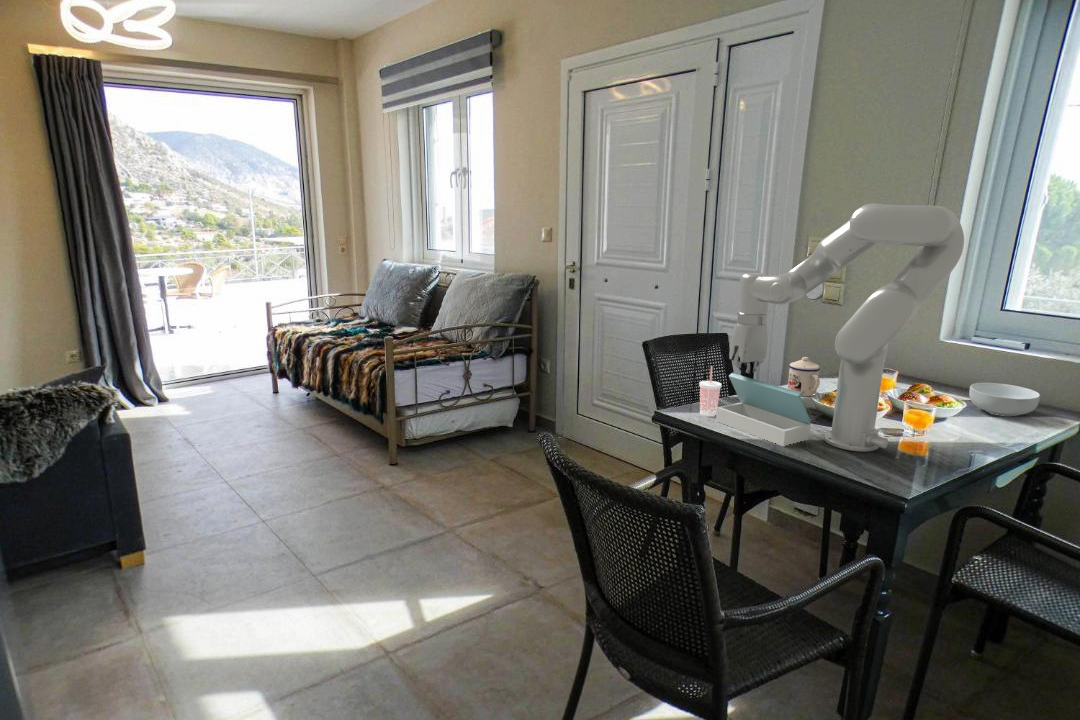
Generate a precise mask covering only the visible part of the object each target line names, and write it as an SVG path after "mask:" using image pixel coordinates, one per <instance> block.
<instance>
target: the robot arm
mask: <svg viewBox="0 0 1080 720" xmlns="http://www.w3.org/2000/svg"><path fill="white" fill-rule="evenodd" d="M879 244H884V245H898V246H915V247H917V246H918V248H917V251H916V252H915V253H914V254H913V255H912V256H911V257H910V258H909V260H907V262H906V263H905V264H904V265H903V267H902V268H901V269H900V270H899V272H898V273H896V274H895V276H894V277H893V278H892V279H891V280H890V281H889V282H888V283H887V284H885V285H883V286H881V287H879V288H878V289H876V290H874V292H873V293H872V294H871V295H870V296H868V298H866V299H865V301H864V302H862V304H861V305H860V307H859V308H858V309H857V310H856V311H855V312H854V314H853V315H852V316H851V317H850V318H849V319H848V320H847V321H846V323H845V324H844V325H843V326H842V327H841V328H840V330H839V331H838V333H837V334H836V336H835V340H834V349H835V353H836V354H837V356H838V357H839V358H840V365H839V370H838V378H837V385H836V391H835V392H836V393H835V401H834V408H833V409H834V411H833V417H832V424H831V430H829V431H827V432H825V433H824V435H823V441H825V442H826V443H827V444H829V445H831V446H833V447H834V448H839V449H843V450H847V451H852V452H873V451H876V450H878V449H880V448H882V449H886V448H887V447H888V442H889V439H888V438H887V437H884V436H880V435H879V430H880V429H877V428H875V427H876V421H877V415H878V408H879V407H878V406H879V401H880V393H881V386H882V380H883V373H884V367H885V363H886V362H885V361H886V358H887V354H888V348H889V342H890V341H891V340H892V339H893V338H894V337H895V336H896V335H897V334H898V333H899V332H900V331H901V329H902V328H903V327H904V326H905V325H906V324H907V323H908V322H909V321H910V320H912V319H913V318H914V317H915V316H916V315H917V313H918V311H919V309H921V307H922V306H923V305H924V303H926V301H927V300H928V299H930V297H931V296H932V295H933V294H934V292H935V291H936V290H937V289H938V288H939V287H940V286H941V284H942V283H944V281H945V280H946V279H947V278H948V276H949V275H950V274H951V273H952V272H953V271H954V269H955V268H956V266H957V264H958V263H959V261H960V259H961V257H962V254H963V251H964V245H965V235H964V230H963V226H962V224H961V222H960V220H959V218H958V216H957V215H956V213H954V212H953V211H952V210H951V209H950V208H947V207H945V206H942V205H918V204H916V205H911V204H910V205H908V204H905V205H904V204H883V203H866V204H863V205H862V206H860V207H857V209H856V210H855V211H854V212H853V213H852V215H851V217H850V218H849V220H847V222H845V223H843V224H842V225H841V226H840V227H838V228H837V229H835V230H833V232H831V233H830V234H828V235H827V236H826V237H824V238H823V239H822V240H821V241H820V242H819V243H818V244H817V246H816V248H815V249H814V251H813V253H811V254H810V255H809V256H808V257H807V258H806V259H804V260H803V261H801V263H799V264H797V266H795V267H793V268H792V269H791V270H789V271H788V272H786V273H781V274H777V275H769V274H768V273H763V272H745V273H742V275H741V276H740V281H739V282H740V283H739V290H738V291H739V293H738V305H737V320H736V323H735V324H734V327H733V331H732V335H731V339H730V344H729V346H730V347H729V354H728V356H729V360H730V361H733V363H732V367H735V368H738V370H739V372H740V375H741V376H744V377H748V378H751V379H755V378H754V377H755V373H756V372H757V368H758V366H759V365H761V364H762V363H764V359H766V357H767V353H768V326H767V321H768V312H769V310H768V309H769V303H770V304H774V305H786V304H789V303H791V302H792V303H793V302H795V301H798V300H800V299H801V298H803V297H804V296H806V295H807V294H809V293H810V292H812V291H813V290H815V289H816V288H817V287H819V286H820V285H822V284H824V282H826V281H827V280H828V279H830V278H831V277H833V276H834V275H836V274H838V273H839V272H840V271H842V270H843V269H844V268H846V267H847V266H849V265H850V264H851V263H853V262H855V261H856V260H857V259H858V258H860V257H862V255H865V254H866V253H867V252H869V251H870V250H871V249H873V248H875V247H876V246H878V245H879Z"/></svg>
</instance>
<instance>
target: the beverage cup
mask: <svg viewBox="0 0 1080 720" xmlns="http://www.w3.org/2000/svg"><path fill="white" fill-rule="evenodd" d="M722 386H723V385H722V383H721V382H720V381H719V382H718V381H715V380H713V365H710V371H709V380H701V381H699V388H700V389H699V414H700V416H704V417H716V416H715V415H717V407H719V406H718V405H719V400H720V393H721V388H722Z"/></svg>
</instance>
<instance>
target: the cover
mask: <svg viewBox="0 0 1080 720" xmlns="http://www.w3.org/2000/svg"><path fill="white" fill-rule="evenodd" d="M728 378H729V380H730V383H731V384H732V386H733V388H734V390H735V393H736V395H737V397H738V399H739V401H740V402H742V403H745V404H748V405H751V406H754V407H757V408H760V409H763V410H766V411H769V412H773V413H776V414H779V415H782V416H785V417H788V418H791V419H794V420H797V421H800V422H803V423H806V424H809V425H810V424H812V422H811V419H810V417H809V416H810V415H809V414H808V411H807V409H806V406H805V404H804V402H803V401H804V400H803V398H802V397H803V396H802V393H801V392H797V391H794V390H790V389H787V388H788V387H787V388H786V387H782V386H780V385H779V386H778V385H776V384H773V383H769V382H764V381H761V380H757V379H755V378H754V379H751V378H748V377H744V376H741V374H736V373H734V372H731V373H730V374H729V375H728ZM740 402H739V403H740Z"/></svg>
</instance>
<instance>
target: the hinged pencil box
mask: <svg viewBox="0 0 1080 720" xmlns="http://www.w3.org/2000/svg"><path fill="white" fill-rule="evenodd" d="M715 417H716V419H715V422H716V421H717V423H719V422H720V423H719V424H722V425H724V424H725V426H727V425H728V426H727V427H730V428H732V427H733V428H732V429H735V430H738V431H741V432H743V433H747V434H749V435H750V436H751V435H752V436H754V437H756V436H757V438H759V437H760V439H762V440H764V439H765V441H767V440H768V442H769V443H772V442H773V444H775V443H776V444H775V445H778V446H780V447H783V446H784V447H787V446H790V445H789V444H791V445H794V444H798V443H801V442H800V441H802V442H805V441H808V439H809V440H810V435H811V434H810V433H811V424H812V423H811V424H810V425H809V424H806V423H803V422H800V421H797V420H794V419H791V418H788V417H785V416H782V415H779V414H776V413H773V412H769V411H766V410H763V409H760V408H757V407H754V406H751V405H748V404H745V403H742V402H736V403H731V404H727V405H722V406H718V407H717V414H716V416H715ZM804 440H805V441H804ZM797 442H798V443H797ZM793 443H794V444H793ZM786 445H787V446H786Z"/></svg>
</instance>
